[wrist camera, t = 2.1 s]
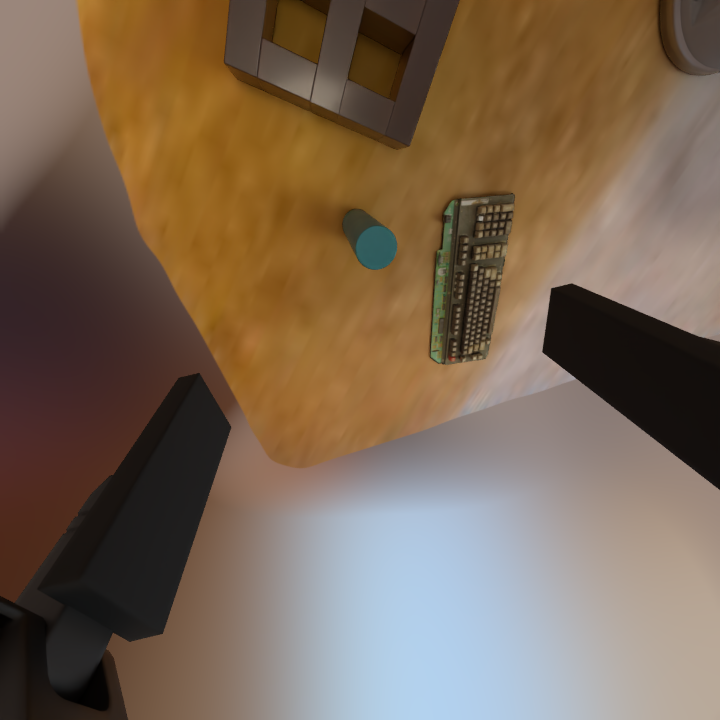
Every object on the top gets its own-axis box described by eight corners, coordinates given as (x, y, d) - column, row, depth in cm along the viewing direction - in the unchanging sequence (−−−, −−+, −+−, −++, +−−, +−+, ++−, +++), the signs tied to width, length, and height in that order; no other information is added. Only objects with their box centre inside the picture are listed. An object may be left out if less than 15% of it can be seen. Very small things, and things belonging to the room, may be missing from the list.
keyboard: (486, 357, 46) (493, 364, 44) (428, 364, 45) (432, 372, 43) (517, 192, 34) (527, 193, 33) (439, 198, 34) (446, 200, 32)
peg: (374, 214, 34) (403, 233, 23) (365, 243, 35) (388, 275, 24) (347, 204, 33) (363, 219, 22) (338, 234, 34) (349, 262, 23)
